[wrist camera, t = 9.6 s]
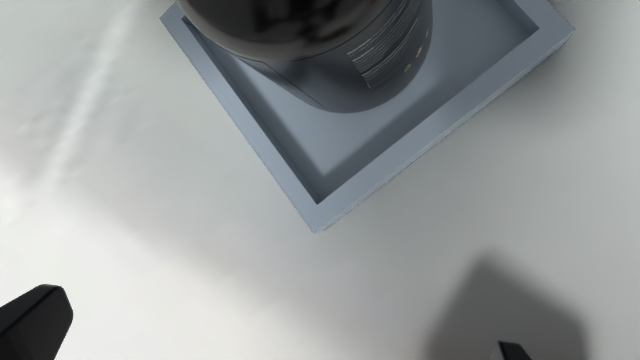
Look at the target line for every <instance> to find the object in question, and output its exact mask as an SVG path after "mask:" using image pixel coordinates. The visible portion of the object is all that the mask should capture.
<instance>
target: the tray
mask: <svg viewBox="0 0 640 360" xmlns="http://www.w3.org/2000/svg"><path fill="white" fill-rule="evenodd" d="M432 9H433V31H432V38H431V43H430V47H429V50H428V53H427V56H426V58H425V61H424V63H423V65H422V67H421V68H420V70H419V72H418V73H417V75H416V76H415V77H414V79H413V80H412V81H411V82H410V84H409V85H408V86H407V87H406V88H405V89H404V90H403V91H402V92H400V93H399V94H398V95H397V96H395V97H394V98H392V99H391V100H389V101H388V102H386V103H384V104H382V105H380V106H378V107H375V108H373V109H370V110H367V111H363V112H358V113H332V112H327V111H324V110H320V109H317V108H315V107H313V106H310V105H309V104H307V103H305V102H303V101H302V100H300V99H298V98H296V97H295V96H293V95H292V94H290V93H289V92H287V91H286V90H284V89H283V88H281V87H280V86H278V85H277V84H275V83H274V82H272V81H271V80H269V79H268V78H266V77H265V76H263V75H262V74H260V73H259V72H257V71H256V70H254V69H253V68H251V67H250V66H248V65H247V64H245V63H244V62H242V61H241V60H239V59H238V58H236V57H235V56H233V55H231V54H230V53H228V52H227V51H225V50H224V49H223V48H221V47H220V46H218V45H217V44H216V43H214V42H213V41H211V40H210V39H209V38H208V37H206V36H205V35H204V34H203V33H202V32H201V31H200V30H198V29H197V28H196V27H195V26H194V25H193V24H192V22H191V21H190V20H189V19H188V18H187V16H186V15H185V14H184V12H183V11H182V9H181V8H180V7H179V5H178V3H177V1H176V2H175V3H174V4H173V5H172V6H171V7H170V8H169V9H168V10H167V11H166V12H165V13H164V14H163V15H162V16H161V17H160V18H159V19H160V20H161V21H162V23H163V24H164V26H165V27H166V28H167V30H168V31H169V33H170V34H171V35H172V37H173V38H174V40H175V41H176V42H177V44H178V45H179V47H180V48H181V49H182V51H183V52H184V53H185V55H186V56H187V58H188V59H189V60H190V62H191V63H192V65H193V66H194V67H195V69H196V70H197V72H198V73H199V74H200V76H201V77H202V79H203V80H204V81H205V83H206V84H207V86H208V87H209V88H210V90H211V91H212V93H213V94H214V95H215V97H216V98H217V99H218V101H219V102H220V104H221V105H222V106H223V108H224V109H225V111H226V112H227V113H228V115H229V116H230V118H231V119H232V120H233V122H234V123H235V125H236V126H237V127H238V129H239V130H240V132H241V133H242V134H243V136H244V137H245V139H246V140H247V141H248V143H249V144H250V145H251V147H252V148H253V150H254V151H255V152H256V154H257V155H258V157H259V158H260V159H261V161H262V162H263V164H264V165H265V166H266V168H267V169H268V171H269V172H270V173H271V175H272V176H273V178H274V179H275V180H276V182H277V183H278V185H279V186H280V187H281V189H282V190H283V191H284V193H285V194H286V196H287V197H288V198H289V200H290V201H291V203H292V204H293V205H294V207H295V208H296V210H297V211H298V212H299V214H300V215H301V217H302V218H303V219H304V221H305V222H306V224H307V225H308V226H309V228H310V229H311V231H312V232H313V233H316V232H320V231H323V230H326V229H327V228H328V227H330V226H331V225H332V224H334V223H335V222H336V221H337V220H339V219H340V218H341V217H343V216H344V215H345V214H346V213H348V212H349V211H350V210H352V209H353V208H354V207H355V206H357V205H358V204H359V203H361V202H362V201H363V200H365V199H366V198H367V197H368V196H370V195H371V194H372V193H374V192H375V191H376V190H377V189H379V188H380V187H381V186H383V185H384V184H385V183H386V182H388V181H389V180H390V179H392V178H393V177H394V176H396V175H397V174H398V173H399V172H401V171H402V170H403V169H405V168H406V167H407V166H408V165H410V164H411V163H412V162H414V161H415V160H416V159H417V158H419V157H420V156H421V155H423V154H424V153H425V152H426V151H428V150H429V149H430V148H432V147H433V146H434V145H436V144H437V143H438V142H439V141H441V140H442V139H443V138H445V137H446V136H447V135H448V134H450V133H451V132H452V131H454V130H455V129H456V128H457V127H459V126H460V125H461V124H463V123H464V122H465V121H466V120H468V119H469V118H470V117H472V116H473V115H474V114H476V113H477V112H478V111H479V110H481V109H482V108H483V107H485V106H486V105H487V104H488V103H490V102H491V101H492V100H494V99H495V98H496V97H497V96H499V95H500V94H501V93H503V92H504V91H505V90H506V89H508V88H509V87H510V86H512V85H513V84H514V83H516V82H517V81H518V80H519V79H521V78H522V77H523V76H525V75H526V74H527V73H528V72H530V71H531V70H532V69H534V68H535V67H536V66H537V65H539V64H540V63H541V62H543V61H544V60H545V59H546V58H548V57H549V56H550V55H552V54H553V53H554V52H556V51H557V50H558V49H559V48H561V47H562V46H563V45H564V44H565V42H566V41H567V40H568V38H569V37H570V36H571V34H572V33H573V32H574V30H575V28H574V27H573V26H572V25H571V24H570V23H569V22H568V21H567V20H566V19H565V18H564V17H563V16H562V15H561V14H560V13H559V12H558V11H557V10H556V9H555V8H554V7H553V6H552V5H551V4H550V2H549V1H548V0H432Z"/></svg>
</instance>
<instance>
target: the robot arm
mask: <svg viewBox="0 0 640 360" xmlns="http://www.w3.org/2000/svg"><path fill="white" fill-rule="evenodd" d="M72 320H73V310H72V307H71V305H70V303H69V300H68V298H67V295H66V293H65V290H64V289H63V288H62V287H61V286H57V285H49V284H42V285H39V286H37V287H35V288H33V289H32V290H30V291H28V292H26V293H25V294H23V295H21V296H19V297H18V298H16V299H14V300H12V301H11V302H9V303H7V304H5V305H3V306H2V307H0V360H54V359H55V357H56V355H57V353H58V350H59V348H60V346H61V344H62V342H63V340H64V338H65V336H66V334H67V332H68V330H69V327H70V325H71V323H72ZM489 360H533V359H532V358H531V357H530V355H529V354H528V353H527V352H526V350H525V349H524V348H523V347H522V345H520V344H519V343H517V342H513V341H505V340H498V341H496V342H495V344H494V347H493V350H492V352H491V355H490V358H489Z"/></svg>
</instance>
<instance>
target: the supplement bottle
mask: <svg viewBox="0 0 640 360" xmlns="http://www.w3.org/2000/svg"><path fill="white" fill-rule="evenodd" d="M176 1H177V3H178V5H179V7H180V8H181V9H182V11H183V12H184V14H185V15H186V16H187V18H188V19H189V20H190V21H191V22H192V24H193V25H194V26H195V27H196V28H197V29H198V30H200V31H201V32H202V33H203V34H204V35H205V36H206V37H208V38H209V39H210V40H211V41H213V42H214V43H216V44H217V45H218V46H220V47H221V48H223V49H224V50H225V51H227V52H228V53H230V54H231V55H233V56H235V57H236V58H238V59H239V60H241V61H242V62H244V63H245V64H247V65H248V66H250V67H251V68H253V69H254V70H256V71H257V72H259V73H260V74H262V75H263V76H265V77H266V78H268V79H269V80H271V81H272V82H274V83H275V84H277V85H278V86H280V87H281V88H283V89H284V90H286V91H287V92H289V93H290V94H292V95H293V96H295V97H296V98H298V99H300V100H302V101H303V102H305V103H307V104H309V105H310V106H313V107H315V108H317V109H320V110H324V111H327V112H332V113H358V112H363V111H367V110H370V109H373V108H375V107H378V106H380V105H382V104H384V103H386V102H388V101H389V100H391V99H392V98H394V97H395V96H397V95H398V94H399V93H400V92H402V91H403V90H404V89H405V88H406V87H407V86H408V85H409V84H410V82H411V81H412V80H413V79H414V77H415V76H416V75H417V73H418V72H419V70H420V68H421V67H422V65H423V63H424V61H425V58H426V56H427V53H428V50H429V47H430V43H431V38H432V31H433V9H432V0H176Z"/></svg>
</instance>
